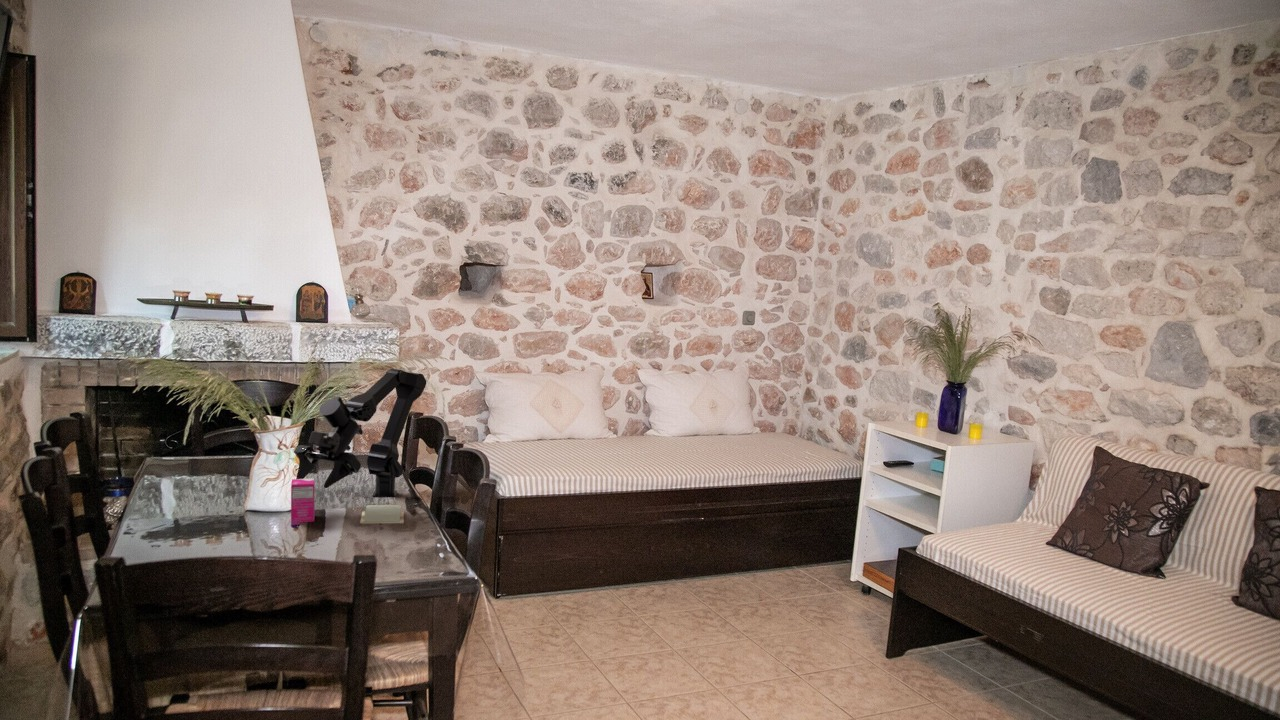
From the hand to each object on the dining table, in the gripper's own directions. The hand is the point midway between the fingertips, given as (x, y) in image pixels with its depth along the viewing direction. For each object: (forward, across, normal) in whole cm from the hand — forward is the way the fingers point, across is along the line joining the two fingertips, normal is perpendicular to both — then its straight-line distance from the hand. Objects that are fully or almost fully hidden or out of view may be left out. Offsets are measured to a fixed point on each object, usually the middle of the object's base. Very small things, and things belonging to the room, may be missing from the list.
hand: (310, 484), depth 220 cm
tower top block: (-1, +16, +13) cm, 21 cm away
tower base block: (0, +16, +14) cm, 21 cm away
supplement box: (+9, 0, +5) cm, 10 cm away
